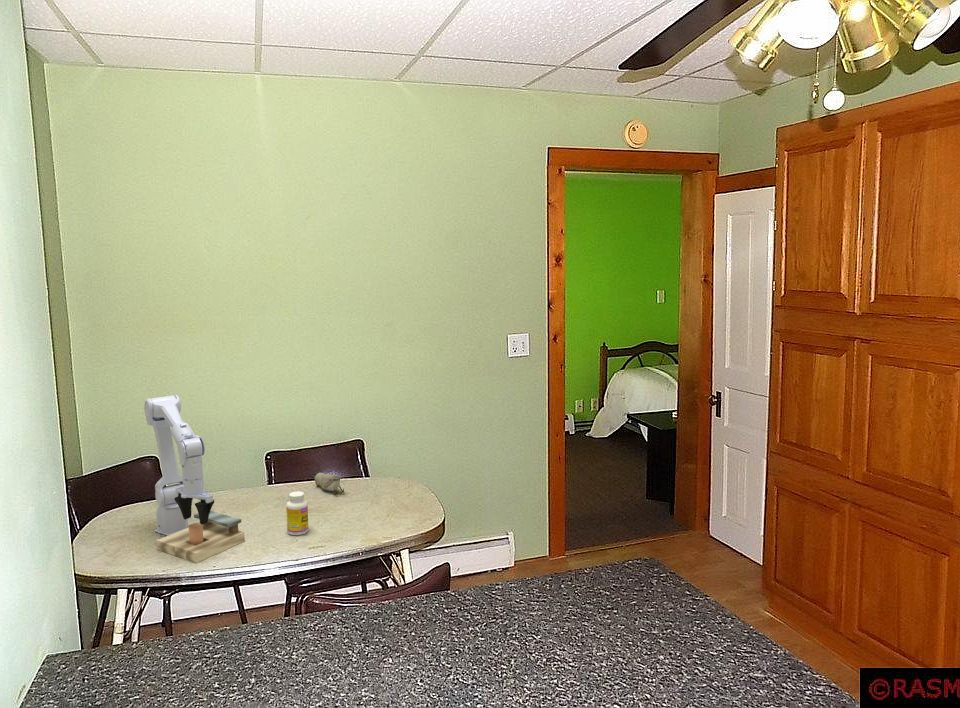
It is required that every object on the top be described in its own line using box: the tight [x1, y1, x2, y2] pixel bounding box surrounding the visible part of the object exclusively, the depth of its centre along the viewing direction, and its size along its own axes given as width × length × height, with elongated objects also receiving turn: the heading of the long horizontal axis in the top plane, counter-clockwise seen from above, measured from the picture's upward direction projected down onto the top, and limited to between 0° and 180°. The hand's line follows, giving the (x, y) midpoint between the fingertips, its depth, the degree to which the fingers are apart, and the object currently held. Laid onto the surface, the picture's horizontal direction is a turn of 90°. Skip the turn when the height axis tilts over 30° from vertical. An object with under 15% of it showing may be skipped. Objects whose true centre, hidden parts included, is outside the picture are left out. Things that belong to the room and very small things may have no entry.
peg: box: [188, 522, 204, 546], centre depth 223 cm, size 4×4×8 cm
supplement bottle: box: [285, 490, 309, 536], centre depth 237 cm, size 7×7×13 cm
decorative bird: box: [314, 472, 345, 496], centre depth 276 cm, size 5×16×8 cm, turn 45°
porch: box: [156, 510, 245, 564], centre depth 227 cm, size 18×18×7 cm
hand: (195, 520), depth 223 cm, fingers open, 7 cm apart
